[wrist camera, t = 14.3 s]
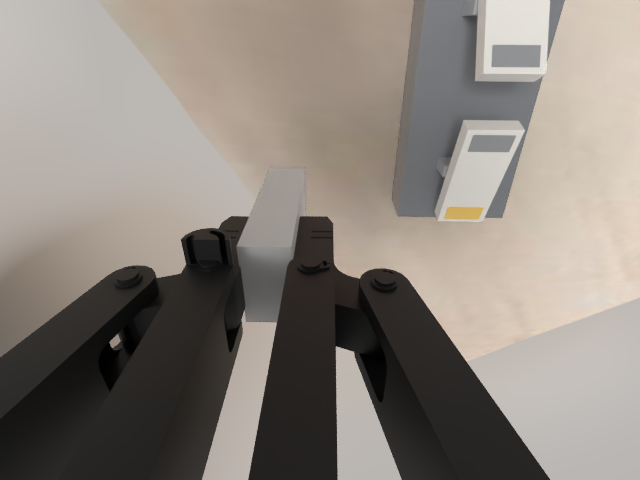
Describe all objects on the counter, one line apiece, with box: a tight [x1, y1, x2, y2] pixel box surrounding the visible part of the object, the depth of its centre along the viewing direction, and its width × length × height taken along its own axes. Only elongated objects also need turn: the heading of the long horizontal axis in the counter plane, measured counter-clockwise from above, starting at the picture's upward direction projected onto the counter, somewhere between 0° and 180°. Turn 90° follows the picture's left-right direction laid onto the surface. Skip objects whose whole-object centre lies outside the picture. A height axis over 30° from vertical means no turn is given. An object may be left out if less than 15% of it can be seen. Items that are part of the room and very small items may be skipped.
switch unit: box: [392, 0, 565, 218], centre depth 36 cm, size 27×12×8 cm, turn 0°
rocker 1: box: [475, 0, 550, 82], centre depth 28 cm, size 11×5×2 cm, turn 0°
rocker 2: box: [435, 120, 525, 222], centre depth 36 cm, size 11×5×2 cm, turn 179°
